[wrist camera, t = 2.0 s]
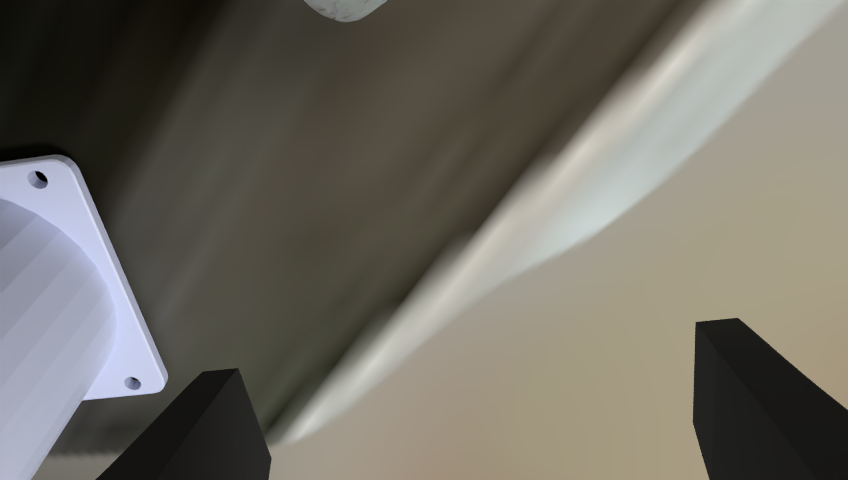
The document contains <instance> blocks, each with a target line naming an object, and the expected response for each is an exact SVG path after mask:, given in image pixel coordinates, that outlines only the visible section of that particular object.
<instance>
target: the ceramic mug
mask: <svg viewBox="0 0 848 480" xmlns="http://www.w3.org/2000/svg"><path fill="white" fill-rule="evenodd" d="M304 1H305V2H306V3H307V4H308V5H309V6H310V7H311V8H313V9H314V10H316V11H317V12H319V13H320V14H321V15H323V16H326V17H329V18H331V19H334V20H337V21H340V22H351V21H356V20H360V19H362V18H363V17H365V16H366V15H368V14H369V13H371V12H372V11H374V10H375V9H376V8H378V7H379V6H380V5H382V4H383V3H385V2H386V1H387V0H304Z"/></svg>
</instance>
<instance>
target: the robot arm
mask: <svg viewBox="0 0 848 480" xmlns="http://www.w3.org/2000/svg"><path fill="white" fill-rule="evenodd" d="M35 171H39V172H41V173H43V174H44V175H45V176H46V178H47V180H48V182H43V181H42V180H40V179H39V178H38V177H37V176H36V173H35ZM695 330H696V331H695V366H694V402H693V404H694V405H693V425H694V428H695V432H696V435H697V439H698V442H699V446H700V449H701V453H702V456H703V459H704V463H705V466H706V469H707V473H708V476H709V479H710V480H848V410H847V409H846V408H844V407H843V406H842V405H841V404H839V403H838V402H837V401H836V400H834V399H833V398H832V397H831V396H829V395H828V394H827V393H826V392H824V391H823V390H822V389H821V388H819V387H818V386H817V385H816V384H815V383H813V382H812V381H811V380H810V379H808V378H807V377H806V376H805V375H804V374H803V373H801V372H800V371H799V370H798V369H797V368H795V367H794V366H793V365H792V364H791V363H790V362H788V361H787V360H786V359H785V358H784V357H782V356H781V355H780V354H779V353H778V352H777V351H776V350H775V349H773V348H772V347H771V346H770V345H769V344H768V343H767V342H765V341H764V340H763V339H762V338H761V337H760V336H759V335H757V334H756V333H755V332H754V331H753V330H752V329H750V328H749V327H748V326H747V325H746V324H745V323H743V322H742V321H741V320H740V319H738V318H732V319H722V320H712V321H702V322H696V328H695ZM131 377H134V378H136V379H138V380H139V381H135V380H133V379H132V378H131ZM167 379H168V375H167V371H166V369H165V367H164V364H163V362H162V360H161V357H160V355H159V353H158V351H157V348H156V346H155V344H154V341H153V339H152V337H151V334H150V332H149V330H148V327H147V325H146V323H145V320H144V318H143V316H142V313H141V311H140V309H139V307H138V304H137V302H136V300H135V297H134V295H133V293H132V290H131V288H130V286H129V283H128V281H127V279H126V276H125V274H124V272H123V269H122V267H121V265H120V262H119V260H118V258H117V256H116V253H115V251H114V249H113V246H112V244H111V242H110V239H109V237H108V235H107V232H106V230H105V228H104V225H103V223H102V221H101V218H100V216H99V214H98V212H97V209H96V207H95V205H94V202H93V200H92V198H91V195H90V193H89V191H88V188H87V186H86V184H85V181H84V179H83V177H82V174H81V172H80V170H79V168H78V167H77V165H76V164H75V162H73V161H72V160H71V159H70V158H68V157H65V156H63V155H47V156H40V157H33V158H26V159H19V160H12V161H5V162H0V480H31V479H32V477H33V476H34V474H35V472H36V471H37V469H38V468H39V466H40V465H41V463H42V462H43V460H44V458H45V457H46V455H47V454H48V452H49V451H50V449H51V448H52V446H53V444H54V443H55V441H56V440H57V438H58V437H59V435H60V434H61V432H62V431H63V429H64V427H65V426H66V424H67V423H68V421H69V420H70V418H71V417H72V415H73V413H74V412H75V410H76V409H77V407H78V406H79V404H80V403H81V401H82V400H90V399H100V398H110V397H120V396H130V395H140V394H150V393H156V392H160V391H161V390H162V389H163V388H164V386H165V384H166V382H167ZM270 464H271V456H270V453H269V450H268V448H267V445H266V442H265V439H264V437H263V434H262V431H261V429H260V426H259V423H258V420H257V418H256V415H255V412H254V410H253V407H252V404H251V401H250V399H249V396H248V393H247V391H246V388H245V385H244V382H243V380H242V377H241V374H240V372H239V369H238V368H235V369H225V370H215V371H205V372H202V373H201V374H200V375H199V376H198V377H197V378H196V379H195V380H193V381H192V382H191V383H190V384H189V385H188V386H187V387H186V388H185V389H184V390H183V391H182V392H181V393H180V395H179V396H178V397H177V398H176V399H175V400H174V401H173V402H172V403H171V404H170V405H169V406H168V407H167V408H166V409H165V410H164V411H163V412H162V413H161V414H160V415H159V416H158V417H157V418H156V419H155V420H154V422H153V423H152V424H151V425H150V426H149V427H148V428H147V429H146V430H145V431H144V432H143V433H142V434H141V435H140V436H139V437H138V438H137V439H136V440H135V441H134V442H133V443H132V444H131V445H130V446H129V447H128V448H127V449H126V450H125V451H124V452H123V453H122V454H121V455H120V456H119V457H118V458H117V459H116V460H115V461H114V462H113V463H112V464H111V465H110V467H108V468H107V469H106V470H105V471H104V472H103V473H102V474H101V475H100V476H99V477H98V478H97V479H96V480H268V479H269V471H270Z"/></svg>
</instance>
